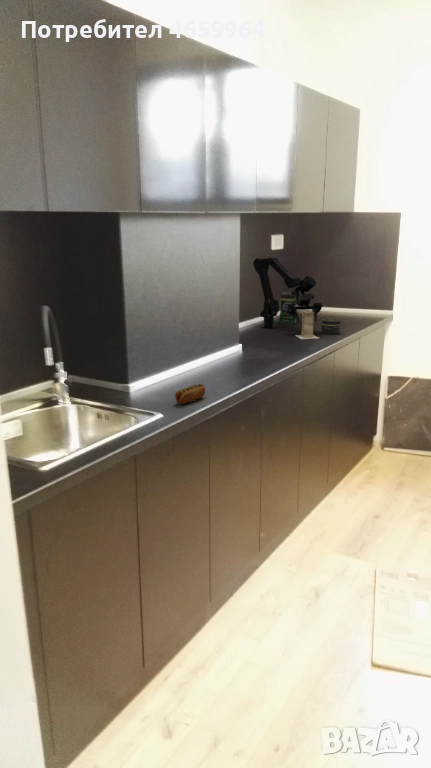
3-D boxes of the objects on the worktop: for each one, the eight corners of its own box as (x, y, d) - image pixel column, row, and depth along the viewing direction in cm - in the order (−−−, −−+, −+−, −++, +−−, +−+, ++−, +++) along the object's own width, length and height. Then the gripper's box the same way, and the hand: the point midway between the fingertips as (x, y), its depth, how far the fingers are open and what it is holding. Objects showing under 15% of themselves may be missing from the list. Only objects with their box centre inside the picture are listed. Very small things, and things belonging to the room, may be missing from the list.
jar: (343, 333, 312) (343, 319, 310) (335, 336, 304) (335, 321, 302) (326, 331, 318) (326, 317, 315) (317, 334, 310) (318, 320, 308)
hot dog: (171, 404, 195) (171, 390, 194) (196, 395, 205) (196, 381, 204) (182, 407, 192) (182, 393, 191) (207, 397, 202) (207, 384, 201)
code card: (294, 335, 306) (294, 335, 306) (312, 335, 308) (312, 334, 307) (301, 339, 296) (301, 339, 296) (319, 338, 298) (319, 338, 298)
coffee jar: (277, 324, 340) (278, 292, 335) (281, 321, 347) (281, 290, 342) (294, 325, 337) (295, 292, 331) (297, 322, 344) (298, 291, 339)
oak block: (301, 336, 304) (302, 311, 300) (309, 335, 304) (310, 311, 301) (304, 337, 299) (305, 312, 296) (312, 337, 300) (313, 312, 296)
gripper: (287, 288, 299) (294, 312, 292) (321, 286, 303) (329, 311, 295) (282, 301, 309) (288, 325, 301) (315, 300, 312) (322, 323, 305)
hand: (307, 321), depth 300 cm, fingers open, 9 cm apart
